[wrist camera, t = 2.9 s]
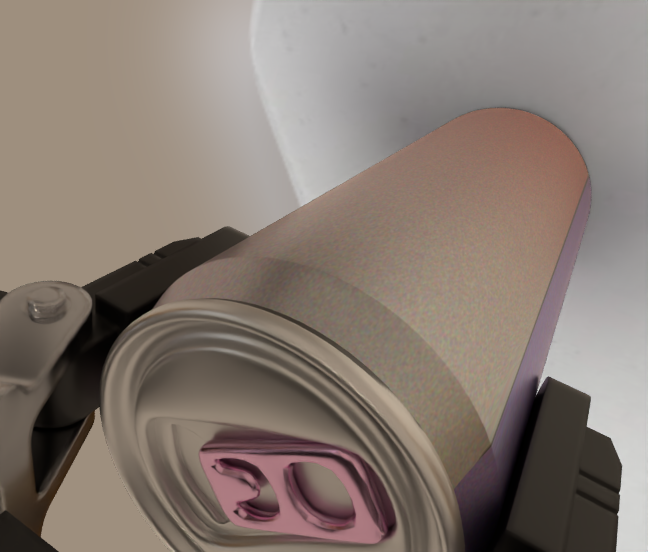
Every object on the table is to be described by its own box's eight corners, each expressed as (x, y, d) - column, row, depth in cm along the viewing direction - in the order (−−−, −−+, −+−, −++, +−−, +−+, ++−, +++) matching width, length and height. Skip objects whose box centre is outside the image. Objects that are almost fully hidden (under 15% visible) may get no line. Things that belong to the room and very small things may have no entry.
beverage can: (611, 257, 18) (536, 724, 6) (442, 283, 22) (187, 624, 10) (569, 77, 17) (373, 249, 5) (395, 135, 20) (28, 322, 8)
